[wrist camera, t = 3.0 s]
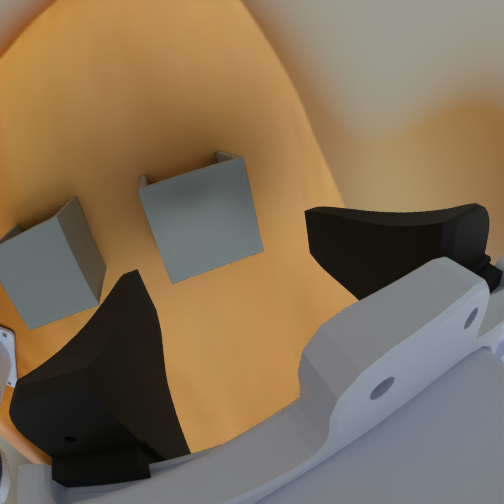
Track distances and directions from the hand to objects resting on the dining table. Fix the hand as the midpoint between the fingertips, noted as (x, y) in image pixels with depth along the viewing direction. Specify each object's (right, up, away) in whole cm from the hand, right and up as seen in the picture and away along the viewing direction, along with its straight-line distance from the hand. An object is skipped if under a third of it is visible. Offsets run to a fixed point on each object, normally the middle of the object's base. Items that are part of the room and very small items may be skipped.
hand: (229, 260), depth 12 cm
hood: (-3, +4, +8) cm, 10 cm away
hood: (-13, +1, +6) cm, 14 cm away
